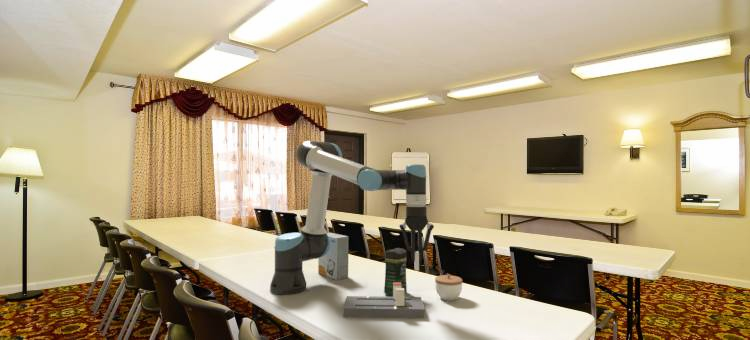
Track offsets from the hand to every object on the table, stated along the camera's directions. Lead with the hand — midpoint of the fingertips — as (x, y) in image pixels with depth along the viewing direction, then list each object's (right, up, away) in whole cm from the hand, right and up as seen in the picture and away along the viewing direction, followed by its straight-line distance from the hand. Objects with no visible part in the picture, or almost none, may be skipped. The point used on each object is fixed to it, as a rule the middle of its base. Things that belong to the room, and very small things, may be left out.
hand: (416, 269), depth 135 cm
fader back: (-7, -11, 0) cm, 13 cm away
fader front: (-7, -11, -7) cm, 14 cm away
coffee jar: (-7, -15, +17) cm, 23 cm away
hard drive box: (-36, -15, +44) cm, 59 cm away
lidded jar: (+14, -15, +11) cm, 23 cm away
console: (-12, -14, -3) cm, 19 cm away
